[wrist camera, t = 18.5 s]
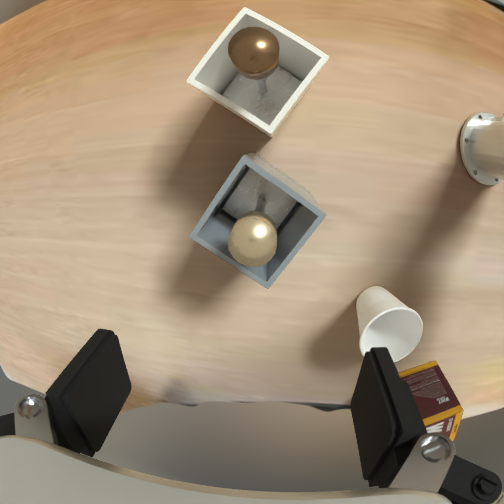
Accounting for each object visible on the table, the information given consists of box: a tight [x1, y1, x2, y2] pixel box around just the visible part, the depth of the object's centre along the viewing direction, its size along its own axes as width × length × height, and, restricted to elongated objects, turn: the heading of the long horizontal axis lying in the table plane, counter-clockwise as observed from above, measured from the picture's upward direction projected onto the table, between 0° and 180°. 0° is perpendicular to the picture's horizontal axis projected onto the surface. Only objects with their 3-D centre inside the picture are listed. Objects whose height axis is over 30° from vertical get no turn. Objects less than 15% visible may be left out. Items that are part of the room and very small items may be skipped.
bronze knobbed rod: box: [222, 27, 302, 126], centre depth 29 cm, size 8×8×19 cm
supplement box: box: [398, 361, 464, 441], centre depth 48 cm, size 10×15×16 cm
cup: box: [356, 286, 423, 362], centre depth 44 cm, size 10×10×11 cm
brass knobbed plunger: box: [222, 168, 297, 267], centre depth 34 cm, size 8×8×19 cm
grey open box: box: [189, 152, 326, 289], centre depth 38 cm, size 10×10×15 cm
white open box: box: [186, 7, 329, 138], centre depth 33 cm, size 10×10×15 cm
